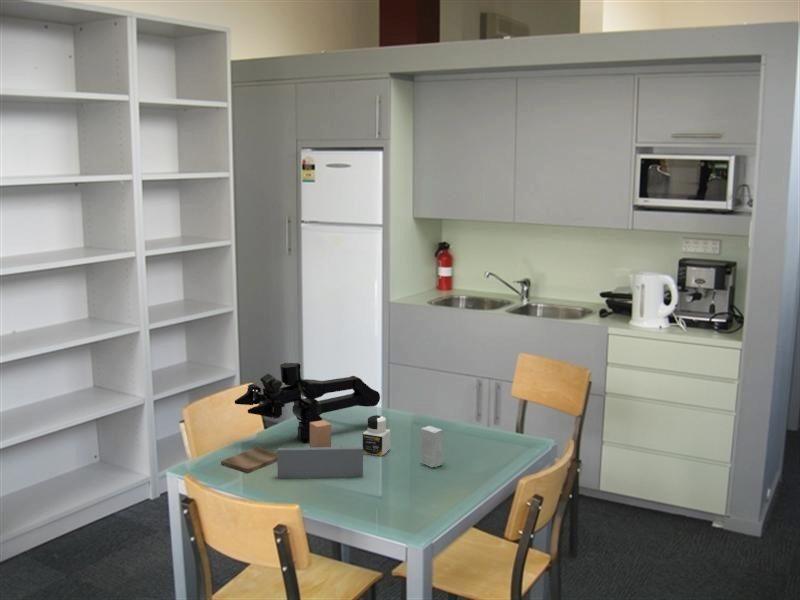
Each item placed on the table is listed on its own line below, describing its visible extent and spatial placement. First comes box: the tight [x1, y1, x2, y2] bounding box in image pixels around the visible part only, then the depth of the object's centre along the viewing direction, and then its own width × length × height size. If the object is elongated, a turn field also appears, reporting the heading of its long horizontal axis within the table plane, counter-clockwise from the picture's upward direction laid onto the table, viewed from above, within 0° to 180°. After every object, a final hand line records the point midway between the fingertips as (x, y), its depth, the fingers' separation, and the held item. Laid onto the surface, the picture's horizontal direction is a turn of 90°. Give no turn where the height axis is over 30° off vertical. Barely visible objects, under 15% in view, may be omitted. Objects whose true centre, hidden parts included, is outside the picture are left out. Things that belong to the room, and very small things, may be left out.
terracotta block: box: [309, 419, 332, 447], centre depth 267 cm, size 5×5×14 cm
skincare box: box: [419, 425, 444, 466], centre depth 270 cm, size 6×4×12 cm
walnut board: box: [220, 447, 277, 474], centre depth 271 cm, size 16×12×1 cm
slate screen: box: [276, 446, 364, 479], centre depth 261 cm, size 6×26×9 cm, turn 95°
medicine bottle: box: [362, 414, 391, 457], centre depth 281 cm, size 7×7×12 cm
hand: (241, 406), depth 275 cm, fingers open, 9 cm apart
